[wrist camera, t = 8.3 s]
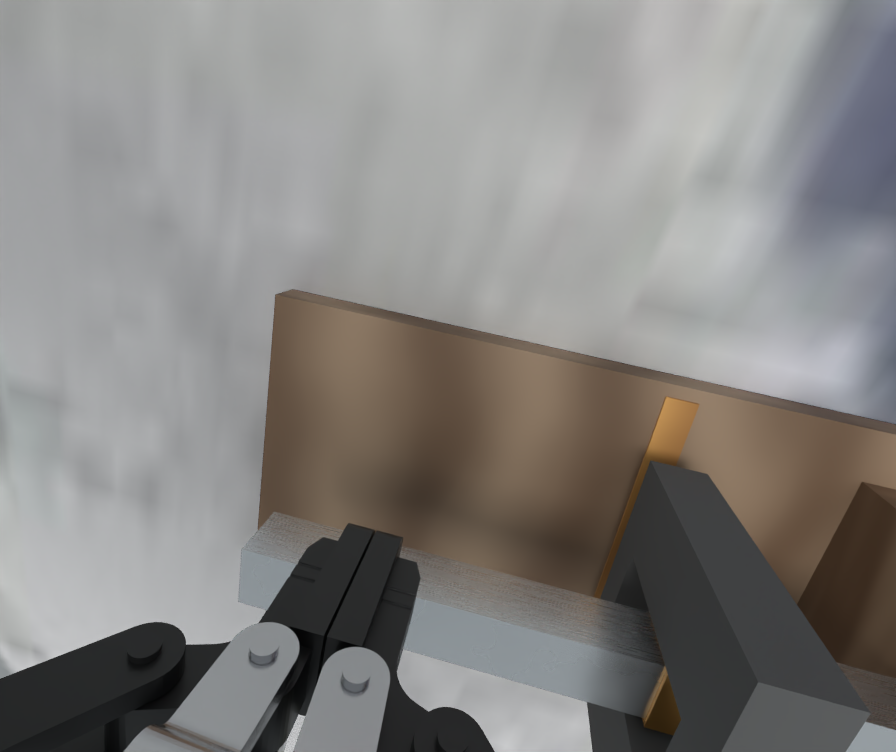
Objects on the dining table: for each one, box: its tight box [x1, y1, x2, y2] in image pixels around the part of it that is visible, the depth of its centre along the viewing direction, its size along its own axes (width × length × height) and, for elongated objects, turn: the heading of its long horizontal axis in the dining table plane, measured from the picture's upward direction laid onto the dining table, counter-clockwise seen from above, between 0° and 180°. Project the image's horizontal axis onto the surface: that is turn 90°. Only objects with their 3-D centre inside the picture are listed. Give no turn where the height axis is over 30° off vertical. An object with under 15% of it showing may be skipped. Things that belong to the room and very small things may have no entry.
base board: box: [258, 289, 896, 678], centre depth 18 cm, size 26×14×9 cm, turn 79°
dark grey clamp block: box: [587, 460, 871, 752], centre depth 15 cm, size 2×9×9 cm, turn 169°
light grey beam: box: [238, 512, 896, 752], centre depth 15 cm, size 20×2×2 cm, turn 79°
